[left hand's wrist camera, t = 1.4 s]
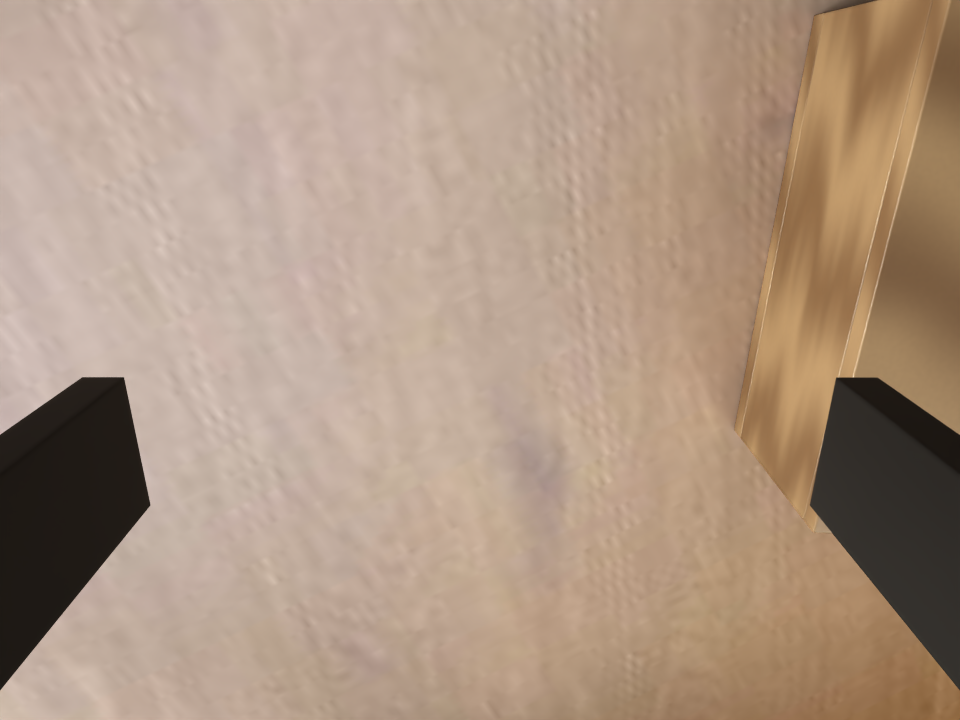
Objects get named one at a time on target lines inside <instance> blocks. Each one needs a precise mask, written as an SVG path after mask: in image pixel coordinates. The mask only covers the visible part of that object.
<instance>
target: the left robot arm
mask: <svg viewBox="0 0 960 720" xmlns="http://www.w3.org/2000/svg"><path fill="white" fill-rule="evenodd" d="M149 506H150V501H149V496H148V491H147V486H146V482H145V477H144V472H143V467H142V462H141V458H140V453H139V448H138V443H137V438H136V433H135V429H134V424H133V419H132V414H131V409H130V404H129V400H128V395H127V390H126V385H125V380H124V377H82V378H81V379H79V380H78V381H77V382H75V383H74V384H72V385H71V386H69V387H68V388H66V389H65V390H64V391H62V392H61V393H59V394H58V395H56V396H55V397H54V398H52V399H51V400H49V401H48V402H46V403H45V404H44V405H42V406H41V407H39V408H38V409H36V410H35V411H34V412H32V413H31V414H29V415H28V416H26V417H25V418H24V419H22V420H21V421H19V422H18V423H16V424H15V425H14V426H12V427H11V428H9V429H8V430H6V431H5V432H4V433H2V434H1V435H0V690H1V689H2V687H3V686H4V685H5V684H6V682H7V681H8V680H9V679H10V678H11V676H12V675H13V674H14V673H15V671H16V670H17V669H18V668H19V666H20V665H21V664H22V663H23V662H24V660H25V659H26V658H27V657H28V655H29V654H30V653H31V652H32V650H33V649H34V648H35V647H36V646H37V644H38V643H39V642H40V641H41V639H42V638H43V637H44V636H45V634H46V633H47V632H48V631H49V629H50V628H51V627H52V626H53V625H54V623H55V622H56V621H57V620H58V618H59V617H60V616H61V615H62V613H63V612H64V611H65V610H66V609H67V607H68V606H69V605H70V604H71V602H72V601H73V600H74V599H75V597H76V596H77V595H78V594H79V593H80V591H81V590H82V589H83V588H84V586H85V585H86V584H87V583H88V581H89V580H90V579H91V578H92V577H93V575H94V574H95V573H96V572H97V570H98V569H99V568H100V567H101V565H102V564H103V563H104V562H105V561H106V559H107V558H108V557H109V556H110V554H111V553H112V552H113V551H114V549H115V548H116V547H117V546H118V545H119V543H120V542H121V541H122V540H123V538H124V537H125V536H126V535H127V533H128V532H129V531H130V530H131V529H132V527H133V526H134V525H135V524H136V522H137V521H138V520H139V519H140V517H141V516H142V515H143V514H144V512H145V511H146V510H147V509H148V508H149ZM810 506H811V508H812V509H813V510H814V511H815V512H816V514H817V515H818V516H819V517H820V519H821V520H822V521H823V522H824V524H825V525H826V526H827V527H828V529H829V530H830V531H831V532H832V533H833V535H834V536H835V537H836V538H837V540H838V541H839V542H840V543H841V545H842V546H843V547H844V548H845V549H846V551H847V552H848V553H849V554H850V556H851V557H852V558H853V559H854V561H855V562H856V563H857V564H858V565H859V567H860V568H861V569H862V570H863V572H864V573H865V574H866V575H867V577H868V578H869V579H870V580H871V581H872V583H873V584H874V585H875V586H876V588H877V589H878V590H879V591H880V593H881V594H882V595H883V596H884V597H885V599H886V600H887V601H888V602H889V604H890V605H891V606H892V607H893V609H894V610H895V611H896V612H897V613H898V615H899V616H900V617H901V618H902V620H903V621H904V622H905V623H906V625H907V626H908V627H909V628H910V629H911V631H912V632H913V633H914V634H915V636H916V637H917V638H918V639H919V641H920V642H921V643H922V644H923V646H924V647H925V648H926V649H927V650H928V652H929V653H930V654H931V655H932V657H933V658H934V659H935V660H936V662H937V663H938V664H939V665H940V666H941V668H942V669H943V670H944V671H945V673H946V674H947V675H948V676H949V678H950V679H951V680H952V681H953V682H954V684H955V685H956V686H957V687H958V689H959V690H960V435H959V434H958V433H956V432H955V431H954V430H952V429H951V428H949V427H948V426H946V425H945V424H944V423H942V422H941V421H939V420H938V419H936V418H935V417H934V416H932V415H931V414H929V413H928V412H926V411H925V410H924V409H922V408H921V407H919V406H918V405H916V404H915V403H914V402H912V401H911V400H909V399H908V398H906V397H905V396H904V395H902V394H901V393H899V392H898V391H896V390H895V389H894V388H892V387H891V386H889V385H888V384H886V383H885V382H883V381H882V380H881V379H879V378H878V377H836V380H835V385H834V390H833V395H832V400H831V404H830V409H829V414H828V419H827V424H826V429H825V433H824V438H823V443H822V448H821V453H820V458H819V462H818V467H817V472H816V477H815V482H814V486H813V491H812V496H811V501H810Z"/></svg>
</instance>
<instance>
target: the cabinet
mask: <svg viewBox="0 0 960 720" xmlns="http://www.w3.org/2000/svg"><path fill="white" fill-rule="evenodd" d="M836 377H878V378H879V379H881V380H882V381H883V382H885V383H886V384H888V385H889V386H891V387H892V388H894V389H895V390H896V391H898V392H899V393H901V394H902V395H904V396H905V397H906V398H908V399H909V400H911V401H912V402H914V403H915V404H916V405H918V406H919V407H921V408H922V409H924V410H925V411H926V412H928V413H929V414H931V415H932V416H934V417H935V418H936V419H938V420H939V421H941V422H942V423H944V424H945V425H946V426H948V427H949V428H951V429H952V430H954V431H955V432H956V433H958V434H959V435H960V0H875V1H871V2H867V3H863V4H859V5H855V6H851V7H847V8H843V9H839V10H835V11H831V12H827V13H822V14H818V15H815V16H814V20H813V25H812V30H811V35H810V40H809V46H808V51H807V56H806V61H805V66H804V71H803V77H802V82H801V87H800V92H799V97H798V102H797V108H796V113H795V118H794V123H793V128H792V133H791V139H790V144H789V149H788V154H787V159H786V164H785V170H784V175H783V180H782V185H781V190H780V196H779V201H778V206H777V211H776V216H775V221H774V227H773V232H772V237H771V242H770V247H769V252H768V258H767V263H766V268H765V273H764V278H763V283H762V289H761V294H760V299H759V304H758V309H757V314H756V320H755V325H754V330H753V335H752V340H751V345H750V351H749V356H748V361H747V366H746V371H745V377H744V382H743V387H742V392H741V397H740V402H739V408H738V413H737V418H736V423H735V428H734V430H735V432H736V433H737V434H738V436H739V437H740V438H741V439H742V440H743V442H744V443H745V444H746V446H747V447H748V448H749V450H750V451H751V452H752V454H753V455H754V456H755V457H756V459H757V460H758V461H759V463H760V464H761V465H762V467H763V468H764V469H765V471H766V472H767V473H768V474H769V476H770V477H771V478H772V480H773V481H774V482H775V484H776V485H777V486H778V487H779V489H780V490H781V491H782V493H783V494H784V495H785V497H786V498H787V499H788V501H789V502H790V503H791V504H792V506H793V507H794V508H795V510H796V511H797V512H798V514H799V515H800V516H801V518H802V519H804V521H805V523H806V524H807V525H808V527H809V528H810V529H811V530H812V532H814V533H832V532H831V531H830V530H829V529H828V527H827V526H826V525H825V524H824V522H823V521H822V520H821V519H820V517H819V516H818V515H817V514H816V512H815V511H814V510H813V509H812V508H811V506H810V501H811V496H812V491H813V486H814V482H815V477H816V472H817V467H818V462H819V458H820V453H821V448H822V443H823V438H824V433H825V429H826V424H827V419H828V414H829V409H830V404H831V400H832V395H833V390H834V385H835V380H836Z"/></svg>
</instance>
